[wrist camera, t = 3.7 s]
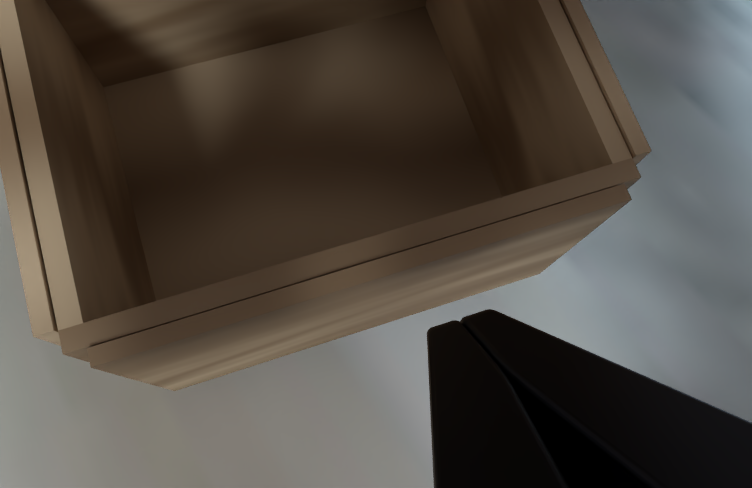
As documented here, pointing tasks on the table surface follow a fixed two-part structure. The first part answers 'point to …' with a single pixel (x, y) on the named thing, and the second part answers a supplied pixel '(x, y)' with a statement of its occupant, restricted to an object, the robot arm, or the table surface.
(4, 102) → the carton
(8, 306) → the table surface
